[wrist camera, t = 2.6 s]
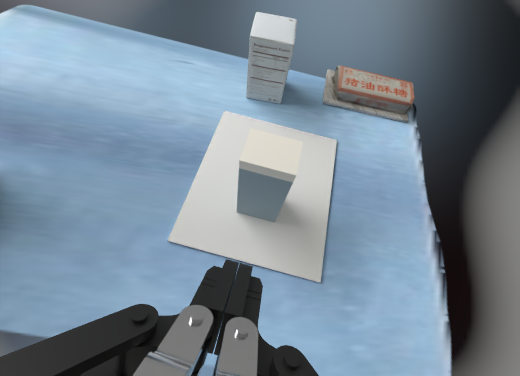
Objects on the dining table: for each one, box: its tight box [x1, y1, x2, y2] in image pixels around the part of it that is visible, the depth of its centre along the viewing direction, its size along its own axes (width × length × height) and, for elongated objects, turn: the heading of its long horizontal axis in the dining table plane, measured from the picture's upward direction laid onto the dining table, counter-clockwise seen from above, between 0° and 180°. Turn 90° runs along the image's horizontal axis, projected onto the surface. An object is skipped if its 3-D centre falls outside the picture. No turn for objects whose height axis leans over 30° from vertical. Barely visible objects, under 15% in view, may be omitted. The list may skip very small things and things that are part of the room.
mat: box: [168, 111, 337, 283], centre depth 40 cm, size 22×26×1 cm
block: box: [236, 128, 303, 222], centre depth 32 cm, size 6×4×14 cm
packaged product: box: [323, 66, 415, 123], centre depth 51 cm, size 18×5×10 cm
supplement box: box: [246, 12, 297, 104], centre depth 46 cm, size 7×7×13 cm
